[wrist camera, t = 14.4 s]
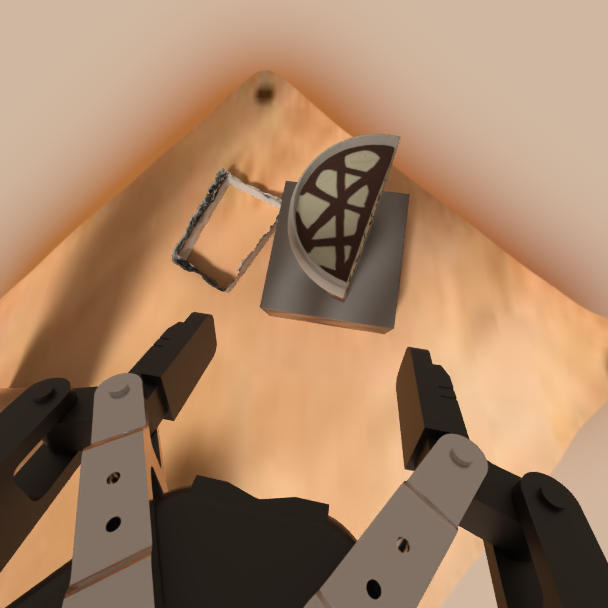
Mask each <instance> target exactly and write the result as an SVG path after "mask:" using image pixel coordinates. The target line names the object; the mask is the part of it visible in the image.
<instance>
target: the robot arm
mask: <svg viewBox="0 0 608 608" xmlns="http://www.w3.org/2000/svg"><path fill="white" fill-rule="evenodd" d="M216 346H217V342H216V334H215V326H214V319H213V316H212V315H210V314H203V313H197V312H193V313H191V315H190V316H189V317H188V318H187V319H186V320H185V322H184V323H183V322H178V323H177V324H175V325H173V326H171V327H170V328H168V329H167V330H166V331H165V332H164V333H163V335H162V336H161V337H160V339H158V340H157V341H156V342H155V343H154V346H152V347H151V348H150V349H149V350H148V351H147V352H146V353H145V355H144V356H143V357H142V358H141V359H140V360H139V361H138V362H137V363H136V365H135V366H134V367H133V368H132V369H131V370H130V371H129V372H128V373H122V374H118V375H115V376H112V377H110V378H108V379H107V380H105V381H104V382H103V383H101V384H100V385H99V387H88V388H76V389H73V388H72V386H71V384H70V383H69V381H68V380H66V379H63V378H51V379H47V380H43V381H41V382H38V383H36V384H34V385H32V386H31V387H17V388H0V572H1V571H2V570H3V568H4V567H5V566H6V564H7V563H8V561H9V560H10V559H11V557H12V556H13V555H14V553H15V552H16V551H17V549H18V548H19V547H20V545H21V544H22V543H23V541H24V540H25V538H26V537H27V536H28V534H29V533H30V532H31V530H32V529H33V528H34V526H35V525H36V524H37V522H38V521H39V519H40V518H41V517H42V515H43V514H44V513H45V511H46V510H47V509H48V507H49V506H50V505H51V503H52V502H53V501H54V499H55V498H56V496H57V495H58V494H59V492H60V491H61V490H62V488H63V487H64V486H65V484H66V483H67V482H68V480H69V479H70V477H71V476H72V475H73V473H74V472H75V471H76V469H77V468H78V467H79V465H80V464H81V470H80V481H79V492H78V503H77V515H76V526H75V537H74V548H73V559H71V560H70V561H68V562H67V563H66V564H64V565H63V566H62V567H60V568H59V569H57V570H56V571H55V572H53V573H52V574H51V575H49V576H48V577H46V578H45V579H44V580H42V581H41V582H40V583H38V584H37V585H36V586H34V587H33V588H31V589H30V590H29V591H27V592H26V593H25V594H23V595H22V596H20V597H19V598H18V599H16V600H15V601H14V602H12V603H11V604H9V605H8V606H7V607H5V608H417V606H418V604H419V602H420V600H421V599H422V597H423V595H424V593H425V591H426V589H427V588H428V586H429V584H430V582H431V580H432V578H433V576H434V575H435V573H436V571H437V569H438V567H439V565H440V564H441V562H442V560H443V558H444V556H445V554H446V553H447V551H448V549H449V547H450V545H451V543H452V541H453V540H454V538H455V536H456V534H457V531H458V528H457V527H458V526H460V527H462V528H464V529H465V530H467V531H469V532H471V533H472V534H474V535H476V536H478V537H479V538H481V539H483V542H484V546H485V551H486V556H487V560H488V565H489V569H490V574H491V578H492V583H493V587H494V592H495V597H496V601H497V606H498V608H608V563H607V560H606V558H605V556H604V554H603V552H602V550H601V548H600V546H599V544H598V542H597V540H596V538H595V535H594V534H593V531H592V529H591V527H590V525H589V523H588V521H587V519H586V517H585V515H584V513H583V511H582V509H581V506H580V505H579V503H578V501H577V500H576V498H575V497H574V496H573V495H572V493H571V492H570V491H569V490H568V489H567V488H566V487H565V486H563V485H562V484H561V483H560V482H558V481H557V480H555V479H554V478H552V477H550V476H548V475H545V474H542V473H539V472H529V473H527V474H525V475H524V476H523V477H522V478H521V477H519V476H517V475H514V474H512V473H510V472H508V471H506V470H504V469H502V468H500V467H498V466H496V465H494V464H492V463H491V462H489V461H488V460H486V457H485V455H484V454H483V452H482V451H481V450H480V448H479V447H478V446H477V445H476V444H475V443H473V442H472V441H471V440H470V439H469V437H468V434H467V430H466V427H465V424H464V421H463V417H462V414H461V411H460V408H459V404H458V401H457V400H456V395H455V392H454V391H453V385H452V382H451V379H450V376H449V375H448V374H447V372H446V371H445V370H444V369H443V367H442V366H441V365H435V364H432V360H431V356H430V353H429V351H428V350H425V349H419V348H413V347H408V348H407V349H406V352H405V355H404V357H403V360H402V363H401V366H400V369H399V372H398V376H397V382H396V392H397V401H398V411H399V420H400V430H401V439H402V449H403V458H404V468H405V469H407V470H412V471H414V473H413V474H412V475H411V476H410V478H409V479H408V480H407V481H404V482H403V483H402V484H401V486H400V487H399V488H398V489H397V491H396V492H395V493H394V495H393V496H392V497H391V498H390V500H389V501H388V502H387V504H386V505H385V506H384V507H383V509H382V510H381V511H380V513H379V514H378V515H377V516H376V518H375V519H374V520H373V522H372V523H371V524H370V526H369V527H368V528H367V529H366V531H365V532H364V533H363V535H362V536H361V537H360V538H359V540H358V541H357V540H356V539H355V537H354V536H353V535H352V534H351V533H350V531H349V530H347V529H346V528H345V527H344V526H343V525H342V524H341V523H340V522H338V521H337V520H336V519H334V518H332V517H331V516H329V515H328V511H329V504H324V503H320V502H315V501H311V500H306V499H302V498H297V497H289V498H274V499H257V498H255V497H253V496H251V495H250V494H248V493H246V492H244V491H243V490H241V489H239V488H237V487H236V486H234V485H232V484H230V483H229V482H225V481H221V480H216V479H212V478H207V477H203V476H198V475H197V476H196V478H195V480H194V482H193V484H192V485H191V486H185V487H180V488H177V489H174V490H171V491H168V487H167V483H166V478H165V473H164V466H163V458H162V450H161V443H160V435H159V429H158V425H159V424H160V422H161V421H162V419H166V420H171V421H174V420H175V418H176V417H177V415H178V413H179V412H180V410H181V409H182V407H183V405H184V404H185V402H186V400H187V399H188V397H189V396H190V394H191V392H192V391H193V389H194V387H195V386H196V384H197V383H198V381H199V379H200V378H201V376H202V374H203V373H204V371H205V370H206V368H207V366H208V365H209V363H210V361H211V360H212V358H213V356H214V354H215V351H216Z"/></svg>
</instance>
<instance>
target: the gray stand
mask: <svg viewBox="0 0 608 608" xmlns="http://www.w3.org/2000/svg"><path fill="white" fill-rule="evenodd" d="M297 183H298V182H291V181H286V183H285V188H284V193H283V197H282V202H281V207H280V212H279V217H278V222H277V227H276V232H275V236H274V241H273V246H272V251H271V256H270V261H269V266H268V270H267V275H266V280H265V285H264V290H263V295H262V300H261V305H260V308H261V309H263V310H264V311H265V312H266V313H267V314H268V315H269V316H275V317H281V318H287V319H293V320H299V321H306V322H312V323H318V324H324V325H331V326H337V327H343V328H349V329H355V330H362V331H368V332H374V333H380V334H385V333H387V332H389V331H390V330H392V329H394V324H395V315H396V306H397V298H398V289H399V281H400V272H401V263H402V255H403V246H404V238H405V229H406V220H407V212H408V203H409V195H410V194H402V193H393V192H384V191H383V193H382V196H381V200H380V203H379V206H378V209H377V212H376V215H375V219H374V221H373V224H372V227H371V230H370V232H369V235H368V238H367V241H366V244H365V246H364V249H363V252H362V255H361V257H360V260H359V263H358V266H357V269H356V271H355V274H354V277H353V280H352V283H351V285H350V288H349V291H348V294H347V296H346V299H345V302H341V301H339V300H337V299H335V298H333V297H332V296H330V295H329V294H327V293H326V292H325V291H324V290H323V289H322V288H321V287H320V286H319V285H318V284H316V283H315V282H314V281H313V280H312V279H311V278H309V276H308V275H307V274H306V273H305V272H304V270H303V269H302V268H301V266H300V265H299V263H298V261H297V260H296V258H295V256H294V253H293V251H292V248H291V246H290V241H289V236H288V215H289V208H290V202H291V198H292V195H293V192H294V189H295V187H296V185H297Z"/></svg>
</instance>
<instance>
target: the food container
mask: <svg viewBox="0 0 608 608" xmlns="http://www.w3.org/2000/svg"><path fill="white" fill-rule="evenodd" d="M399 139H400V137H399V136H393V135H385V134H383V135H382V134H371V135H362V136H358V137H353V138H349V139H347V140H344V141H341V142H339V143H337V144H335V145H333V146H331V147H329V148H328V149H326V150H325V151H324V152H322V153H321V154H320V155H318V156H317V157H316V158H315V159H314V160H313V161H312V162H311V163H310V164H309V166H308V167H307V169H306V170H305V171H304V173H303V174H302V176H301V177H300V179H299V181H298V183H297V185H296V187H295V189H294V192H293V195H292V198H291V202H290V208H289V215H288V236H289V241H290V246H291V248H292V251H293V253H294V256H295V258H296V260H297V261H298V263H299V265H300V266H301V268H302V269H303V270H304V272H305V273H306V274H307V275H308V276H309V278H311V279H312V280H313V281H314V282H315V283H316V284H318V285H319V286H320V287H321V288H322V289H323V290H324V291H325V292H326V293H327V294H329V295H330V296H332V297H333V298H335V299H337V300H339V301H341V302H345V299H346V296H347V294H348V291H349V288H350V285H351V283H352V280H353V277H354V274H355V271H356V269H357V266H358V263H359V260H360V257H361V255H362V252H363V249H364V246H365V244H366V241H367V238H368V235H369V232H370V230H371V227H372V224H373V221H374V219H375V215H376V212H377V209H378V206H379V203H380V200H381V196H382V193H383V190H384V187H385V184H386V181H387V178H388V174H389V171H390V168H391V165H392V162H393V159H394V155H395V153H396V150H397V147H398V143H399Z"/></svg>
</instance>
